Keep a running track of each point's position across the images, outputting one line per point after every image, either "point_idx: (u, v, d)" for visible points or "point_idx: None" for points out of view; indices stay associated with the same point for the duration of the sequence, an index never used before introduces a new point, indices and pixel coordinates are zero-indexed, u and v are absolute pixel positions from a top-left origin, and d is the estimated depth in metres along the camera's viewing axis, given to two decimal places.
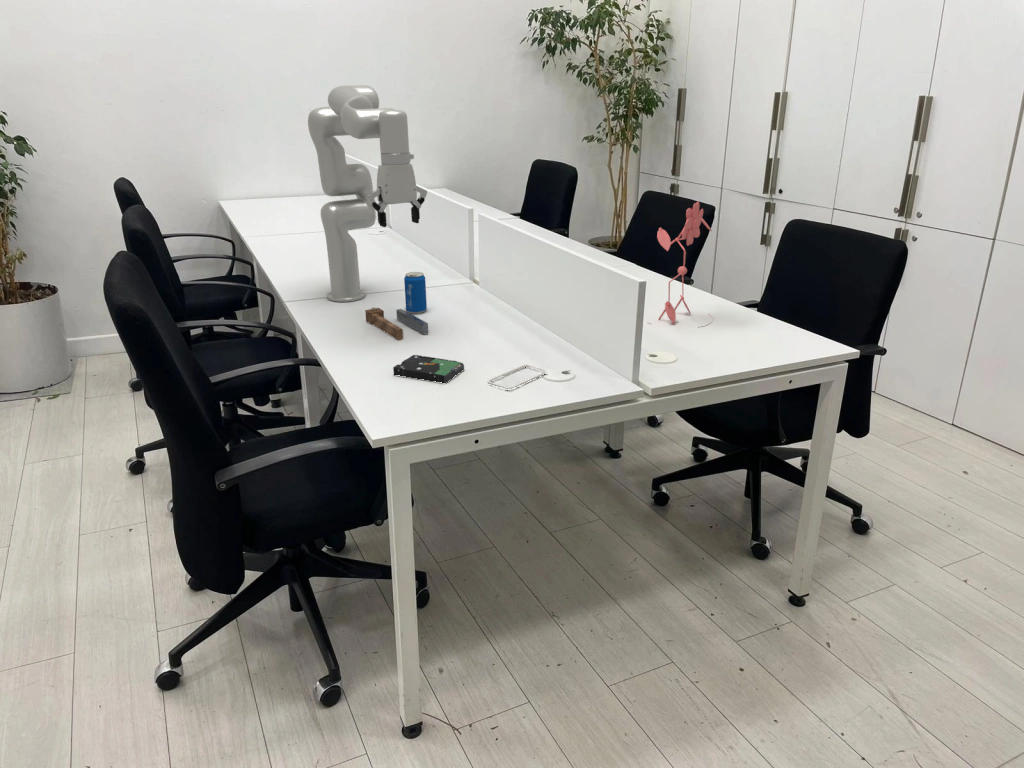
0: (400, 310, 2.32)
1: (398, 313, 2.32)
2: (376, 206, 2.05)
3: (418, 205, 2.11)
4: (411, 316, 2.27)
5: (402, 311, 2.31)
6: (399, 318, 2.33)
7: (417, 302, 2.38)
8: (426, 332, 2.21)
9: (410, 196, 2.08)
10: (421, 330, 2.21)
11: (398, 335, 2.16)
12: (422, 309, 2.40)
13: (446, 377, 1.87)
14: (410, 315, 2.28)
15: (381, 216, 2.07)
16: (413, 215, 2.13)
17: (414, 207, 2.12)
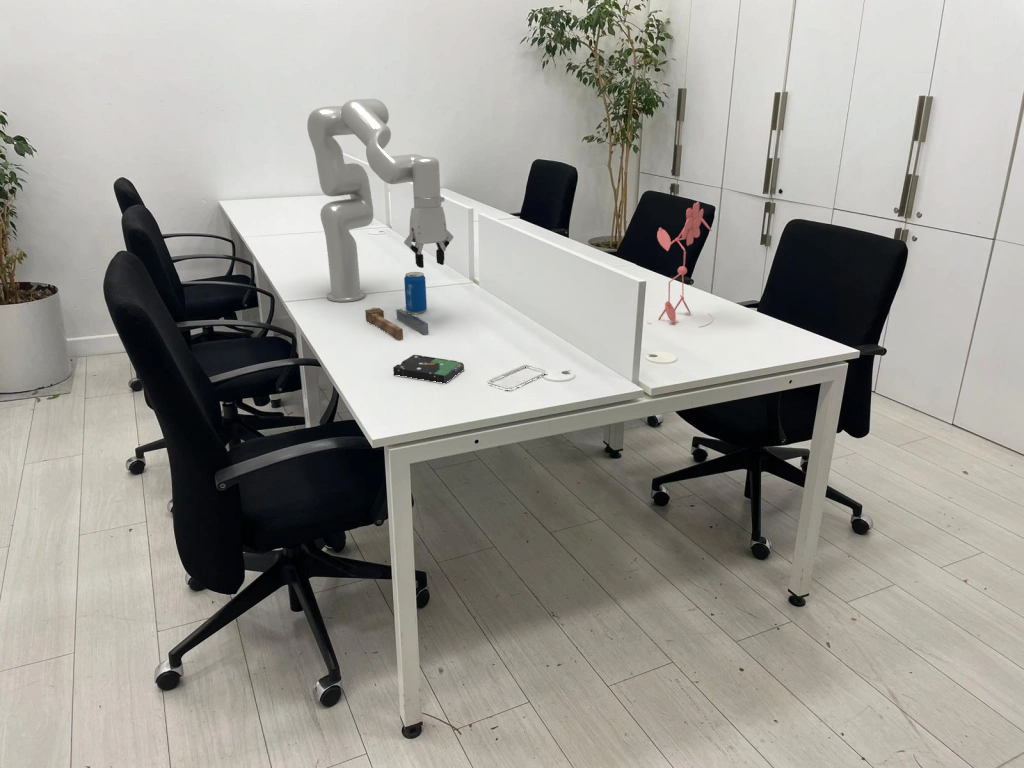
0: (400, 310, 2.32)
1: (398, 313, 2.32)
2: (414, 249, 2.20)
3: (443, 248, 2.24)
4: (411, 316, 2.27)
5: (402, 311, 2.31)
6: (399, 318, 2.33)
7: (417, 302, 2.38)
8: (426, 332, 2.21)
9: (441, 236, 2.22)
10: (421, 330, 2.21)
11: (398, 335, 2.16)
12: (422, 309, 2.40)
13: (446, 377, 1.87)
14: (410, 315, 2.28)
15: (419, 258, 2.21)
16: (438, 257, 2.26)
17: (439, 250, 2.25)
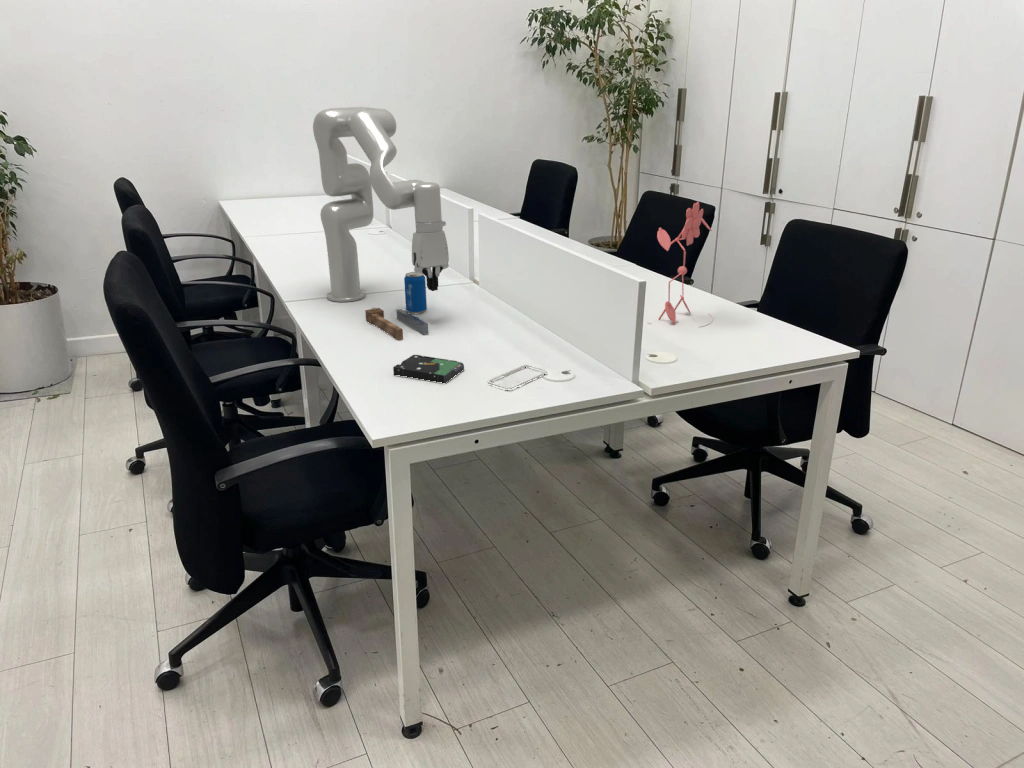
0: (400, 310, 2.32)
1: (398, 313, 2.32)
2: (425, 272, 2.24)
3: (437, 274, 2.25)
4: (411, 316, 2.27)
5: (402, 311, 2.31)
6: (399, 318, 2.33)
7: (417, 302, 2.38)
8: (426, 332, 2.21)
9: (443, 260, 2.24)
10: (421, 330, 2.21)
11: (398, 335, 2.16)
12: (422, 309, 2.40)
13: (446, 377, 1.87)
14: (410, 315, 2.28)
15: (430, 281, 2.25)
16: None
17: (433, 275, 2.26)
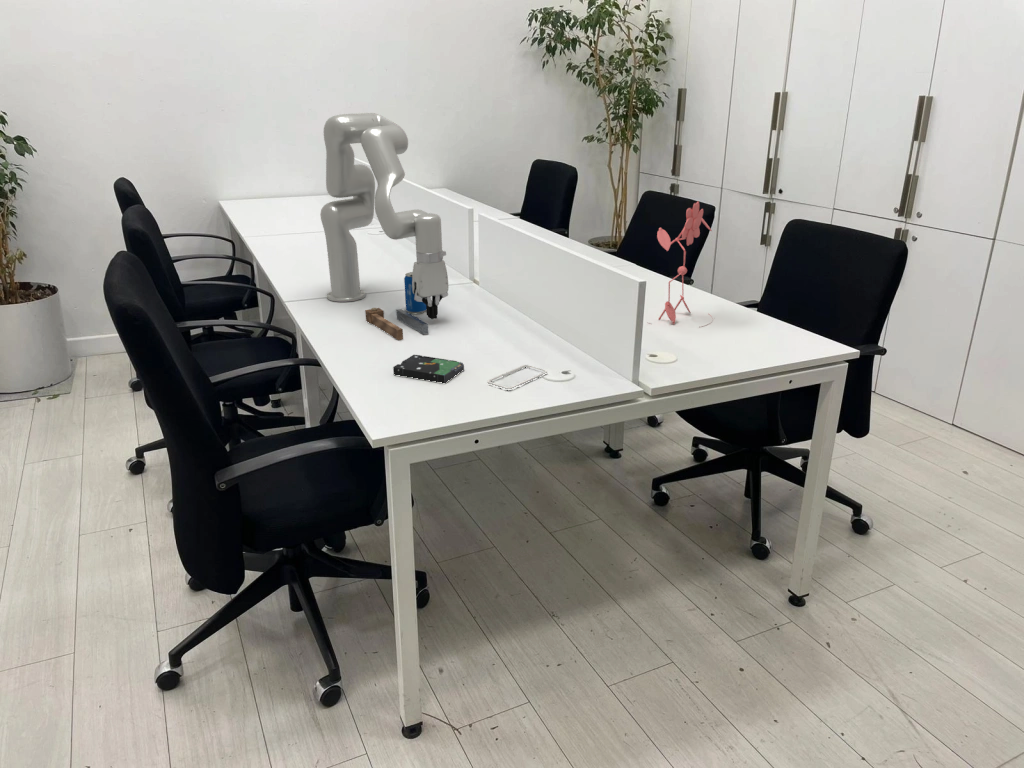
0: (400, 310, 2.32)
1: (398, 313, 2.32)
2: (425, 301, 2.27)
3: (436, 302, 2.29)
4: (411, 316, 2.27)
5: (402, 311, 2.31)
6: (399, 318, 2.33)
7: (417, 302, 2.38)
8: (426, 332, 2.21)
9: (442, 289, 2.27)
10: (421, 330, 2.21)
11: (398, 335, 2.16)
12: (422, 309, 2.40)
13: (446, 377, 1.87)
14: (410, 315, 2.28)
15: (429, 309, 2.29)
16: None
17: (433, 304, 2.29)
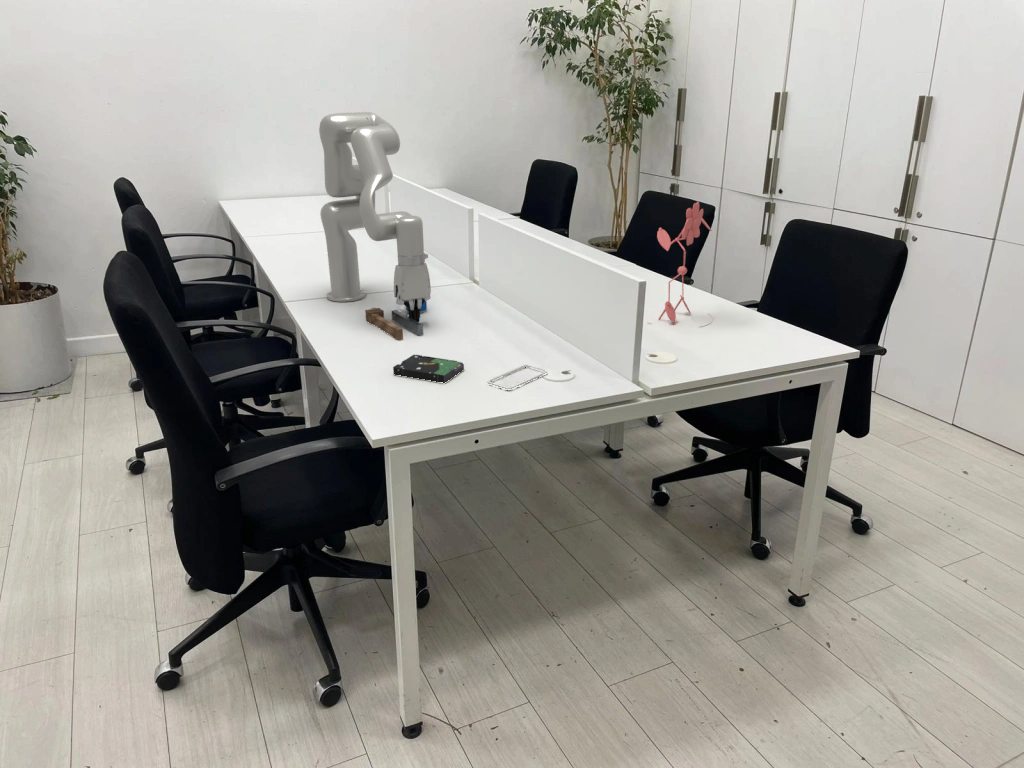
0: (395, 311, 2.32)
1: (393, 314, 2.32)
2: (407, 304, 2.24)
3: (419, 306, 2.26)
4: (406, 317, 2.26)
5: (397, 312, 2.31)
6: (394, 319, 2.32)
7: None
8: (421, 333, 2.20)
9: (424, 292, 2.25)
10: (416, 331, 2.20)
11: (398, 335, 2.16)
12: (422, 309, 2.40)
13: (445, 377, 1.87)
14: (405, 316, 2.27)
15: (412, 313, 2.26)
16: None
17: (415, 307, 2.26)
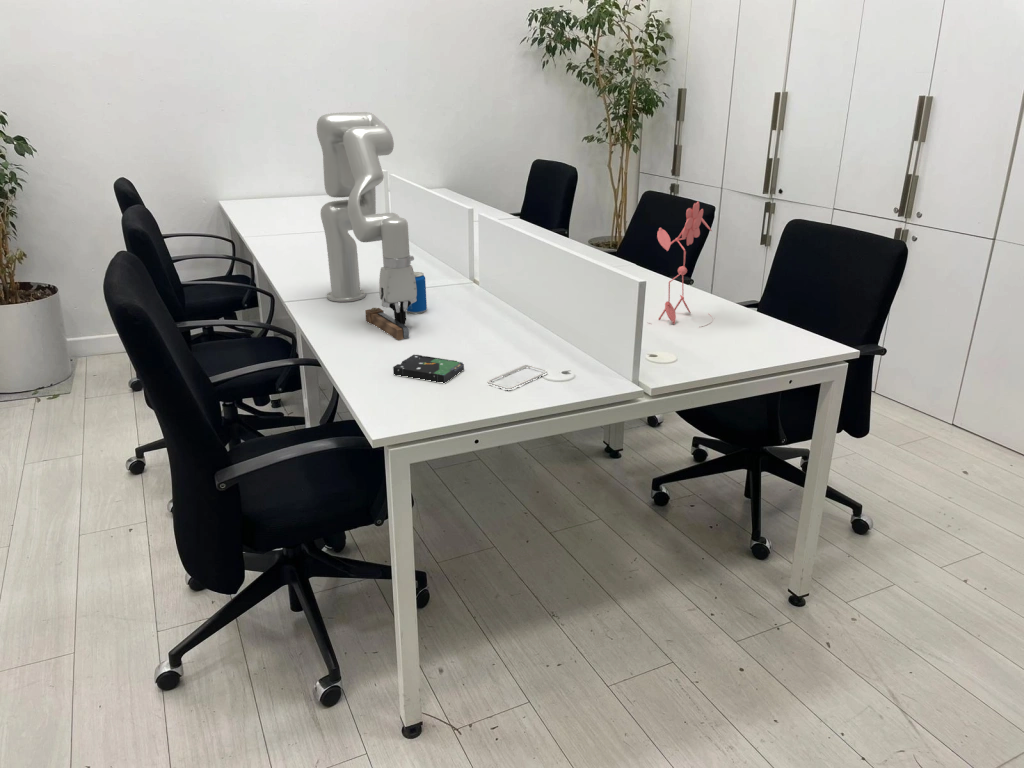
0: (381, 313, 2.29)
1: None
2: (393, 307, 2.22)
3: (404, 308, 2.24)
4: (392, 320, 2.24)
5: (383, 314, 2.28)
6: None
7: (417, 302, 2.38)
8: (407, 336, 2.18)
9: (410, 295, 2.22)
10: None
11: (398, 335, 2.16)
12: (422, 309, 2.40)
13: (445, 377, 1.87)
14: (391, 319, 2.25)
15: (397, 316, 2.24)
16: None
17: (401, 310, 2.24)
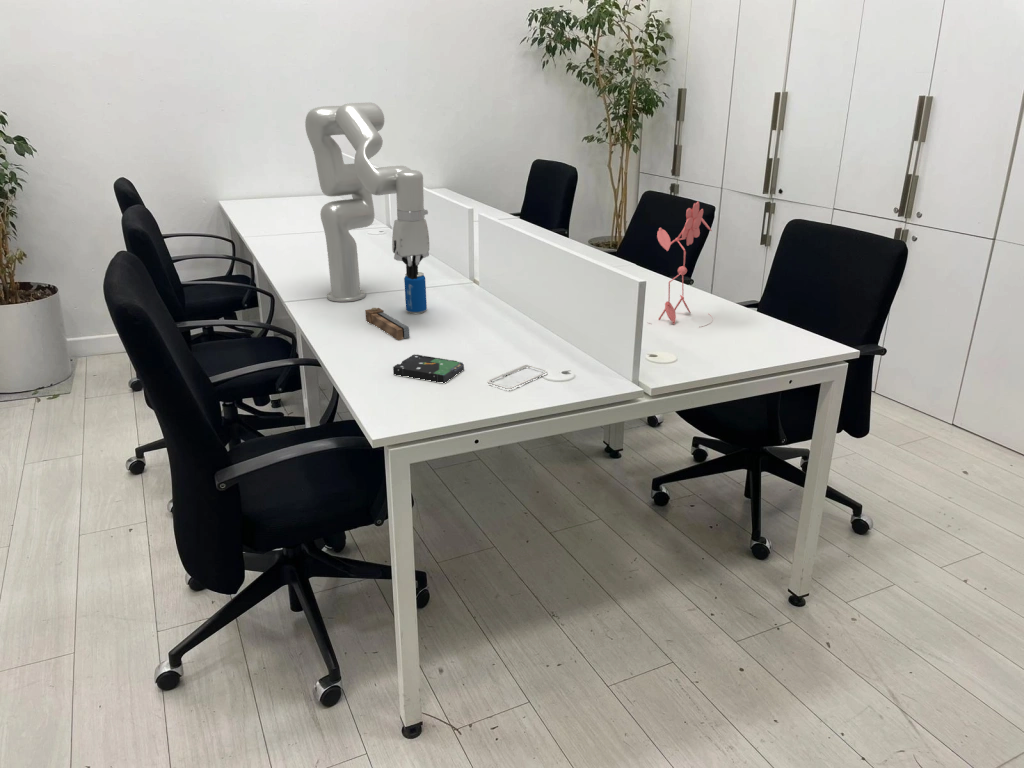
0: (382, 313, 2.29)
1: None
2: (405, 261, 2.22)
3: (417, 262, 2.24)
4: (392, 320, 2.24)
5: (383, 314, 2.28)
6: None
7: (417, 302, 2.38)
8: (407, 336, 2.18)
9: (423, 249, 2.23)
10: None
11: (398, 335, 2.16)
12: (422, 309, 2.40)
13: (445, 377, 1.87)
14: (391, 318, 2.25)
15: (409, 269, 2.24)
16: None
17: (413, 264, 2.25)
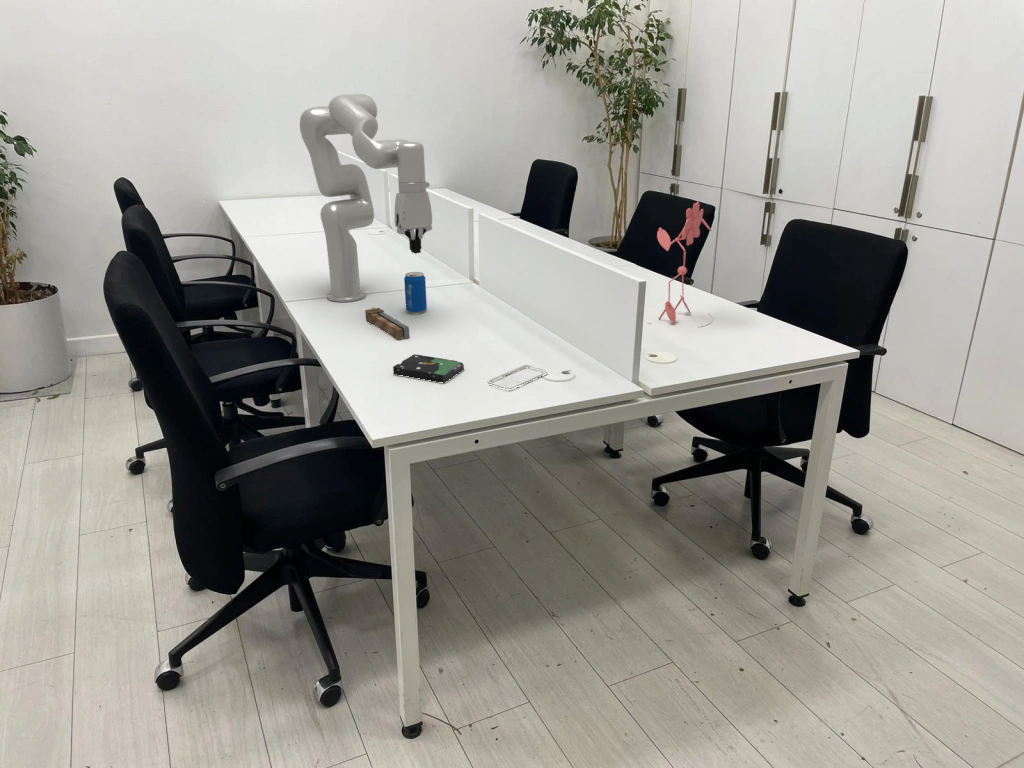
0: (382, 313, 2.29)
1: None
2: (408, 234, 2.21)
3: (420, 236, 2.22)
4: (392, 320, 2.24)
5: (383, 314, 2.28)
6: None
7: (417, 302, 2.38)
8: (407, 336, 2.18)
9: (426, 222, 2.21)
10: None
11: (398, 335, 2.16)
12: (422, 309, 2.40)
13: (445, 377, 1.87)
14: (391, 318, 2.25)
15: (413, 243, 2.22)
16: None
17: (416, 238, 2.23)
